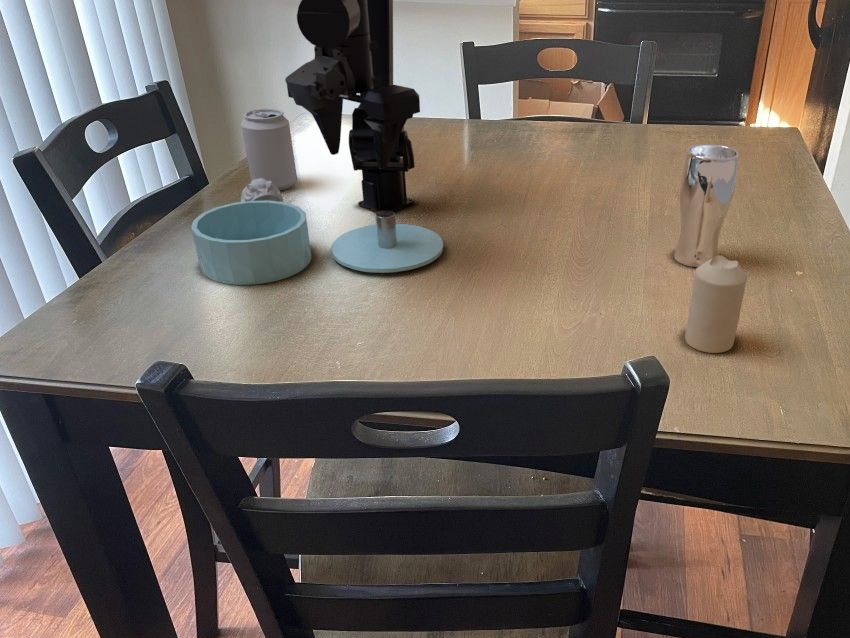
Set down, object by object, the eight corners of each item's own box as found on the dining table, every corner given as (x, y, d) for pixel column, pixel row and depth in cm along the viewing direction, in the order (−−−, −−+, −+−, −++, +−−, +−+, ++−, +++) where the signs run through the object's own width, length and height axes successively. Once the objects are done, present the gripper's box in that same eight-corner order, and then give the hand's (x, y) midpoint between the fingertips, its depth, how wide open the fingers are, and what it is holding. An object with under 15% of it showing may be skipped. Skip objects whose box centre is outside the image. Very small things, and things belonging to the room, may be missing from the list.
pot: (265, 231, 113) (258, 192, 109) (334, 257, 106) (328, 216, 102) (178, 264, 103) (168, 223, 100) (247, 295, 96) (239, 252, 93)
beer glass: (724, 252, 109) (743, 146, 100) (718, 272, 103) (738, 162, 95) (675, 245, 111) (689, 140, 102) (666, 264, 105) (681, 156, 97)
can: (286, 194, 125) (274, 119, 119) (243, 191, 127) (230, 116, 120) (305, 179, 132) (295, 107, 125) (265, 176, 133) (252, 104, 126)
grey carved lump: (251, 235, 111) (242, 188, 108) (239, 219, 116) (230, 174, 113) (292, 227, 114) (285, 181, 110) (279, 212, 119) (271, 167, 115)
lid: (387, 223, 116) (384, 186, 113) (465, 248, 109) (465, 210, 105) (308, 256, 106) (303, 217, 103) (389, 287, 98) (386, 246, 95)
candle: (679, 330, 90) (691, 251, 85) (724, 328, 91) (739, 250, 85) (692, 354, 86) (706, 273, 80) (740, 352, 86) (757, 271, 80)
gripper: (242, 32, 92) (263, 161, 101) (348, 52, 83) (362, 193, 91) (314, 21, 99) (328, 142, 108) (419, 39, 90) (426, 169, 99)
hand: (358, 160), depth 101 cm, fingers open, 9 cm apart
